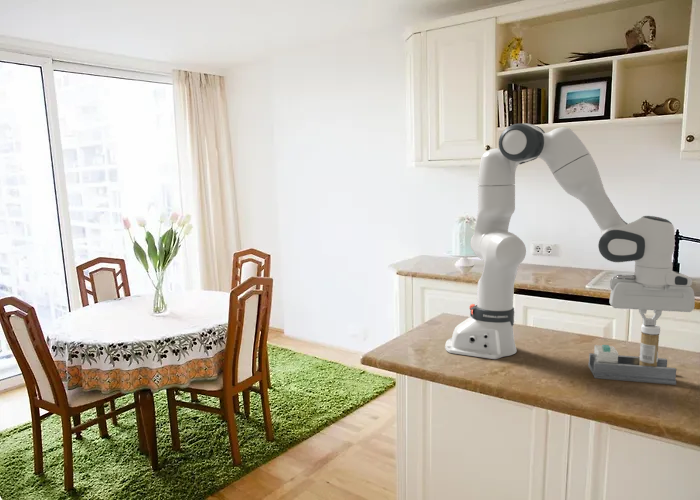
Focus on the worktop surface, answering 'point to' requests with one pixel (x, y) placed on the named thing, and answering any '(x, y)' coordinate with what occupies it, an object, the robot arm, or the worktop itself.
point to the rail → (628, 367)
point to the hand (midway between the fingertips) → (649, 325)
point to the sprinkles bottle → (649, 345)
